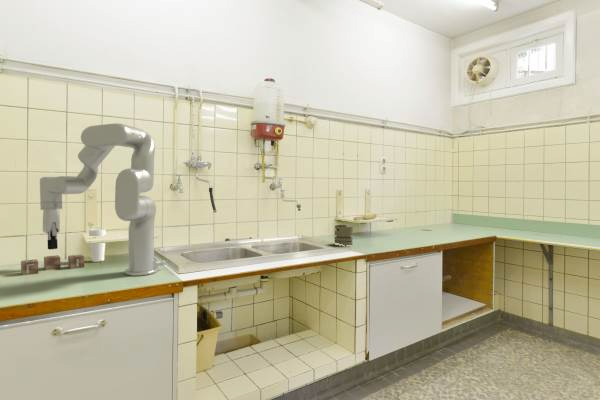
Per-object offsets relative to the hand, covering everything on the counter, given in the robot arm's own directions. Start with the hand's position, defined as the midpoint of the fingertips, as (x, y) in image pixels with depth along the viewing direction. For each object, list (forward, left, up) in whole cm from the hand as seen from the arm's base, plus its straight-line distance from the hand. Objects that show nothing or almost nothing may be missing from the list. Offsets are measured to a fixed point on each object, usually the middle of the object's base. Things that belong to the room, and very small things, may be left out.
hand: (52, 248), depth 147 cm
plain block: (0, 0, -9) cm, 9 cm away
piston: (-144, +42, -9) cm, 150 cm away
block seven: (+8, +4, -9) cm, 12 cm away
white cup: (-18, -3, -9) cm, 20 cm away
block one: (-8, +4, -9) cm, 12 cm away
